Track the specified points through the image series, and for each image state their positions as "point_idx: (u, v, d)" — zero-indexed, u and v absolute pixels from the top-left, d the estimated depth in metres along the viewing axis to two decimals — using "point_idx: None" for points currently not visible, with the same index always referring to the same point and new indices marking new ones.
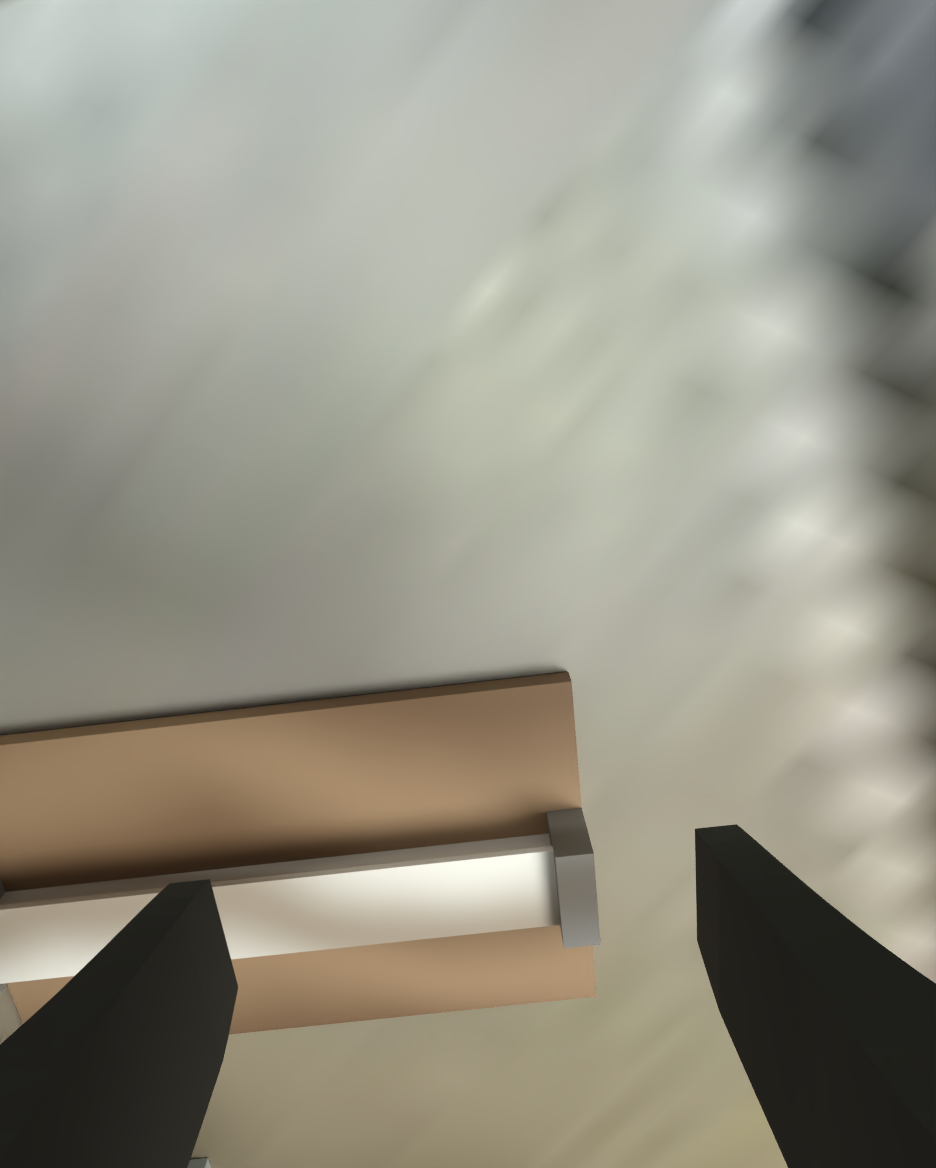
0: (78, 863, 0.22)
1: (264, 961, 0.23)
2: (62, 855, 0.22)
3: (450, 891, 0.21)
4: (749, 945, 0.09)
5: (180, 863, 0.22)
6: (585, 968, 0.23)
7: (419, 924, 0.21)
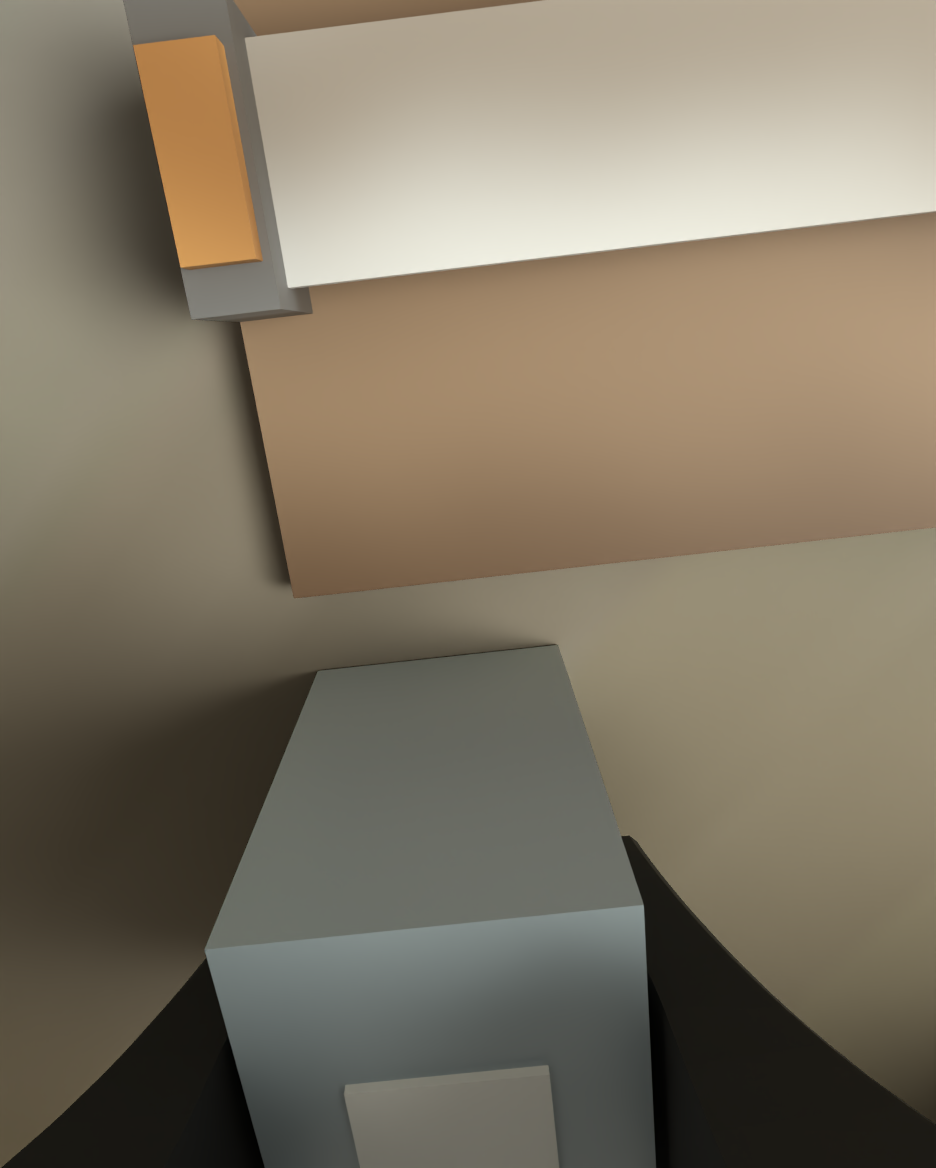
0: None
1: (826, 349, 0.11)
2: (429, 7, 0.09)
3: None
4: None
5: None
6: None
7: None
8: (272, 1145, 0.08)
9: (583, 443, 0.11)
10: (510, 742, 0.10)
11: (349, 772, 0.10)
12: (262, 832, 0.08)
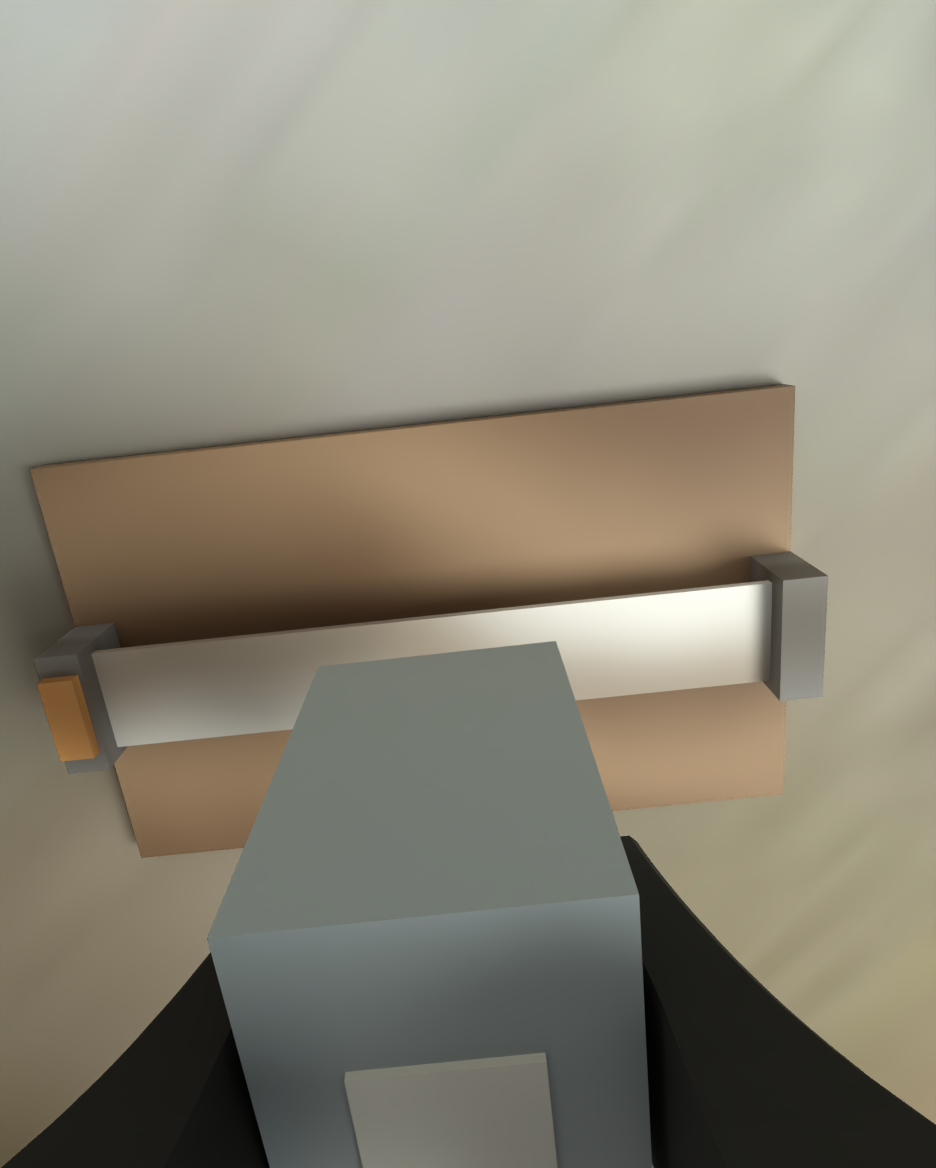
0: (207, 614, 0.19)
1: None
2: (190, 603, 0.19)
3: (648, 634, 0.18)
4: None
5: (324, 616, 0.19)
6: (774, 758, 0.21)
7: (607, 677, 0.18)
8: (273, 1132, 0.08)
9: None
10: (508, 736, 0.10)
11: (348, 765, 0.10)
12: (263, 824, 0.09)
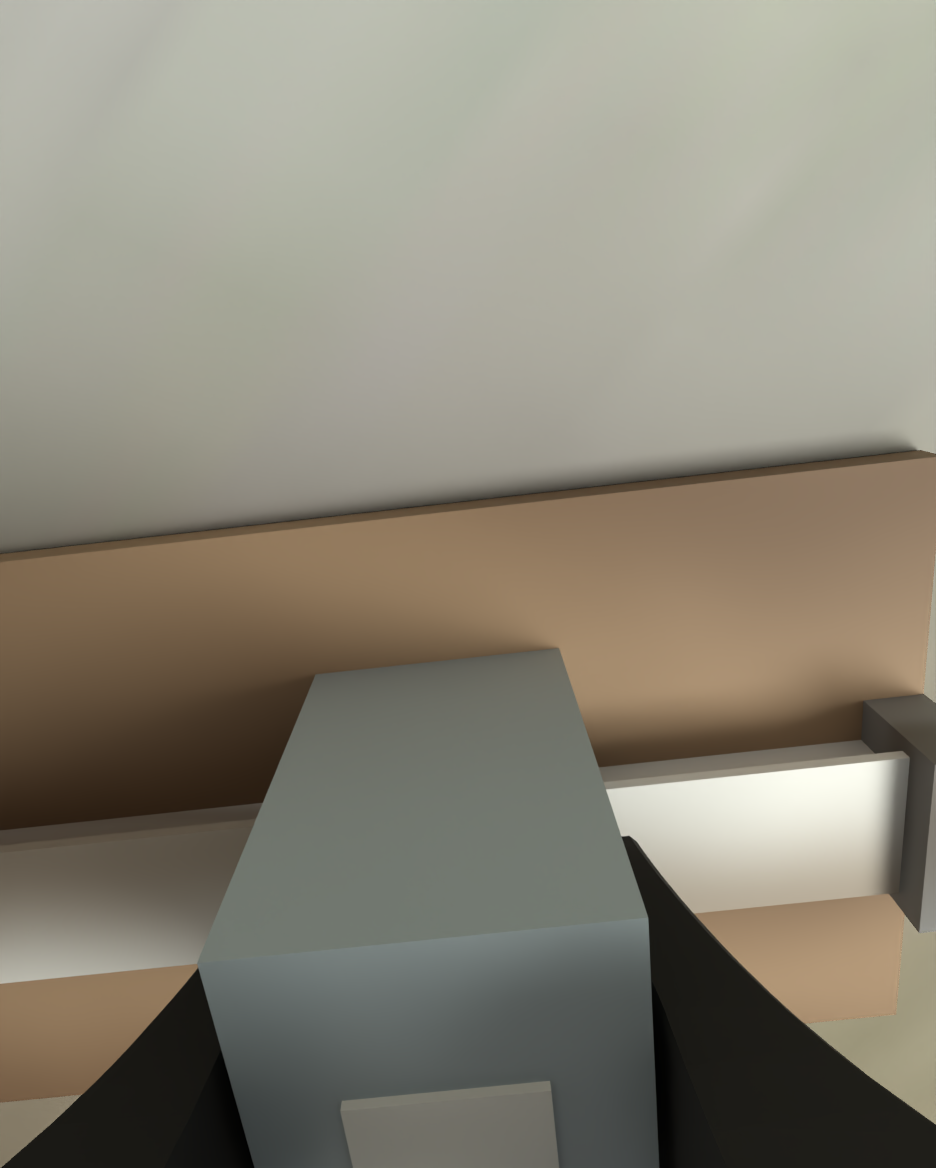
0: (65, 787, 0.13)
1: None
2: (38, 772, 0.13)
3: (717, 832, 0.12)
4: None
5: (237, 788, 0.13)
6: (886, 969, 0.15)
7: None
8: (267, 1162, 0.07)
9: None
10: (511, 748, 0.10)
11: (346, 778, 0.09)
12: (257, 841, 0.08)
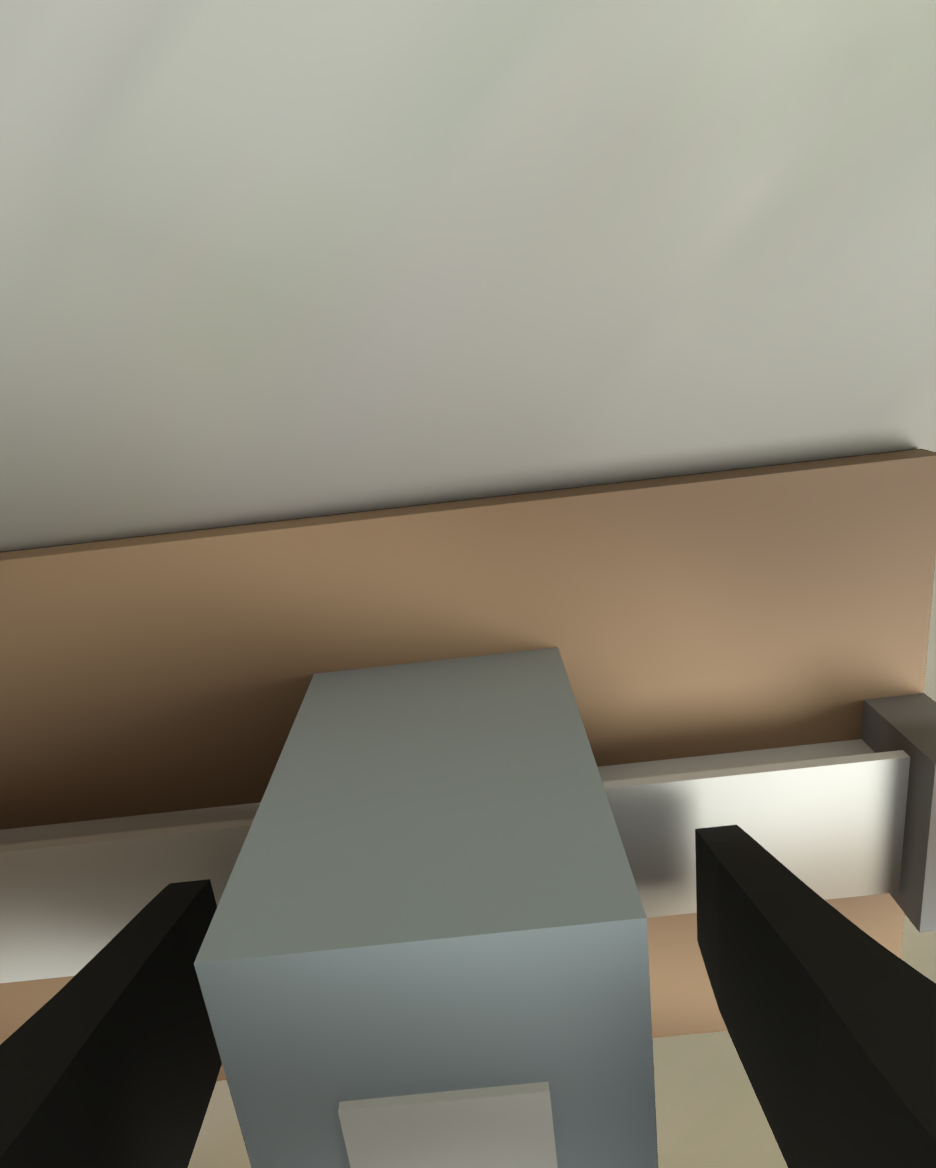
0: (63, 787, 0.13)
1: None
2: (36, 771, 0.13)
3: None
4: (749, 945, 0.09)
5: (236, 788, 0.13)
6: None
7: (656, 890, 0.12)
8: (264, 1163, 0.07)
9: None
10: (509, 748, 0.10)
11: (343, 777, 0.09)
12: (255, 841, 0.08)
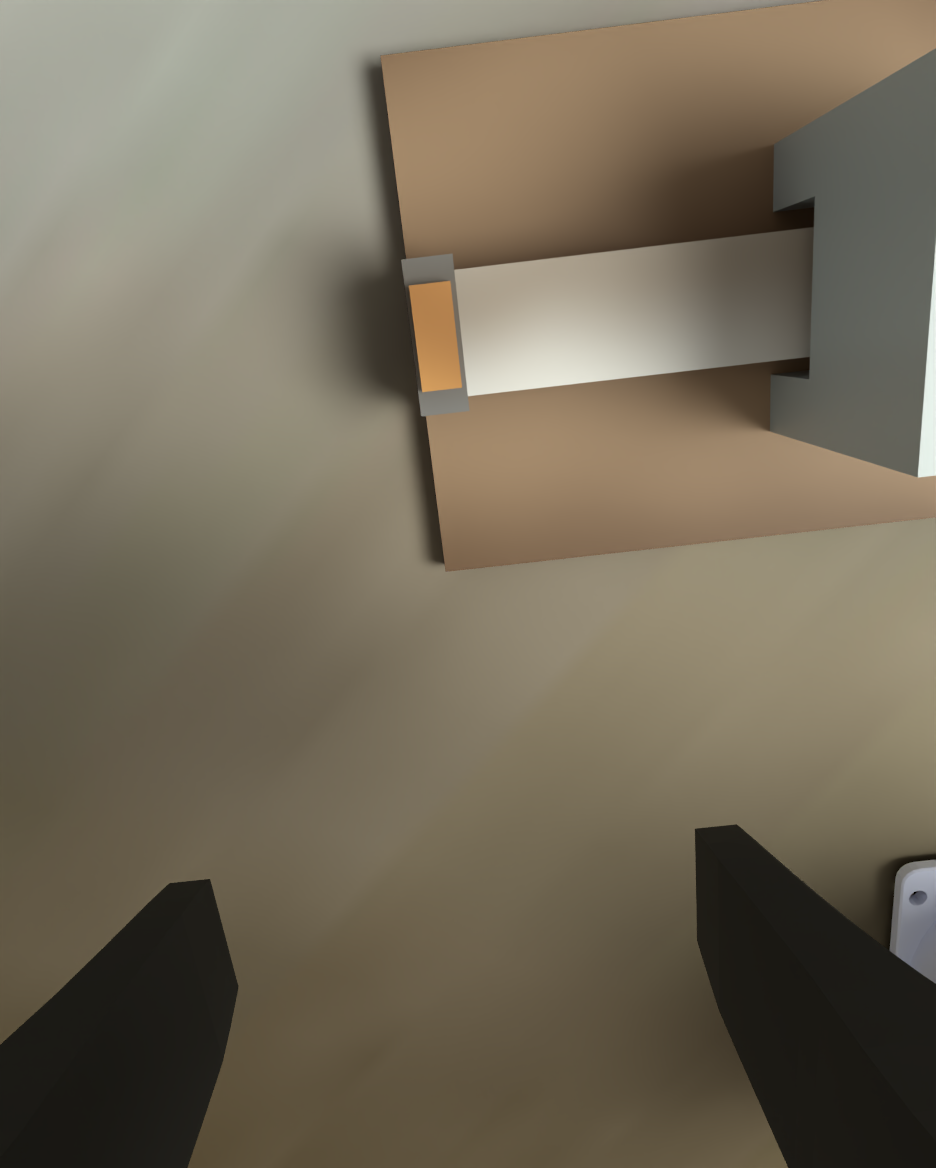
0: (561, 252, 0.17)
1: None
2: (543, 236, 0.16)
3: None
4: (749, 945, 0.09)
5: None
6: None
7: None
8: None
9: (625, 477, 0.18)
10: None
11: None
12: (892, 77, 0.12)
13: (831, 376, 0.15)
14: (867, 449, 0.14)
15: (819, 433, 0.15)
